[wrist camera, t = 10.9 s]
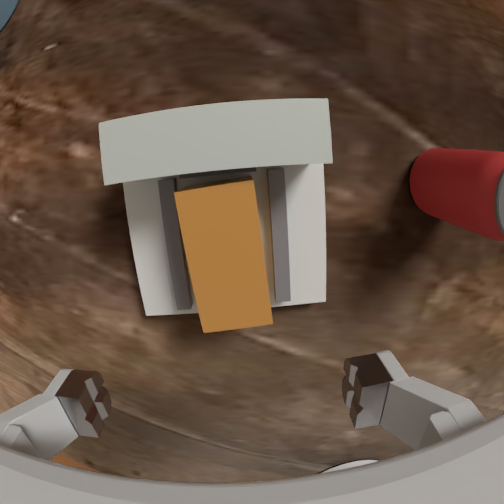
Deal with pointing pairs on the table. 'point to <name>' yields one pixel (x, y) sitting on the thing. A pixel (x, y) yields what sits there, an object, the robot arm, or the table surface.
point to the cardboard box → (225, 253)
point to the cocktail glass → (6, 11)
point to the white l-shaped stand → (219, 168)
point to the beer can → (462, 188)
